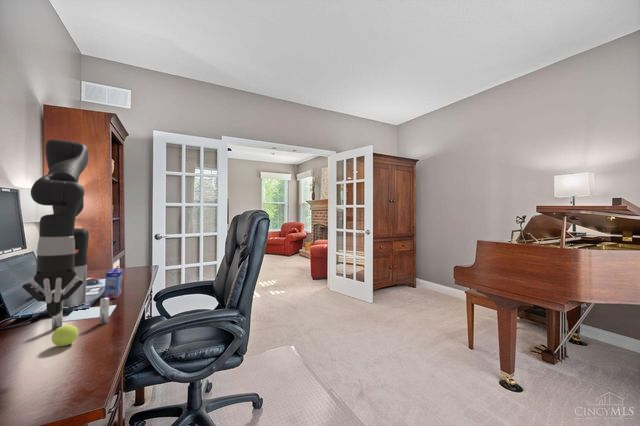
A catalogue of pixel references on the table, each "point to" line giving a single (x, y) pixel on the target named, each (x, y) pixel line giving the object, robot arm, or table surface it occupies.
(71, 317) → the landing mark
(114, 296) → the ink cartridge box
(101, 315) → the post
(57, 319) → the post
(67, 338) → the ball
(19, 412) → the table surface
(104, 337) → the table surface
